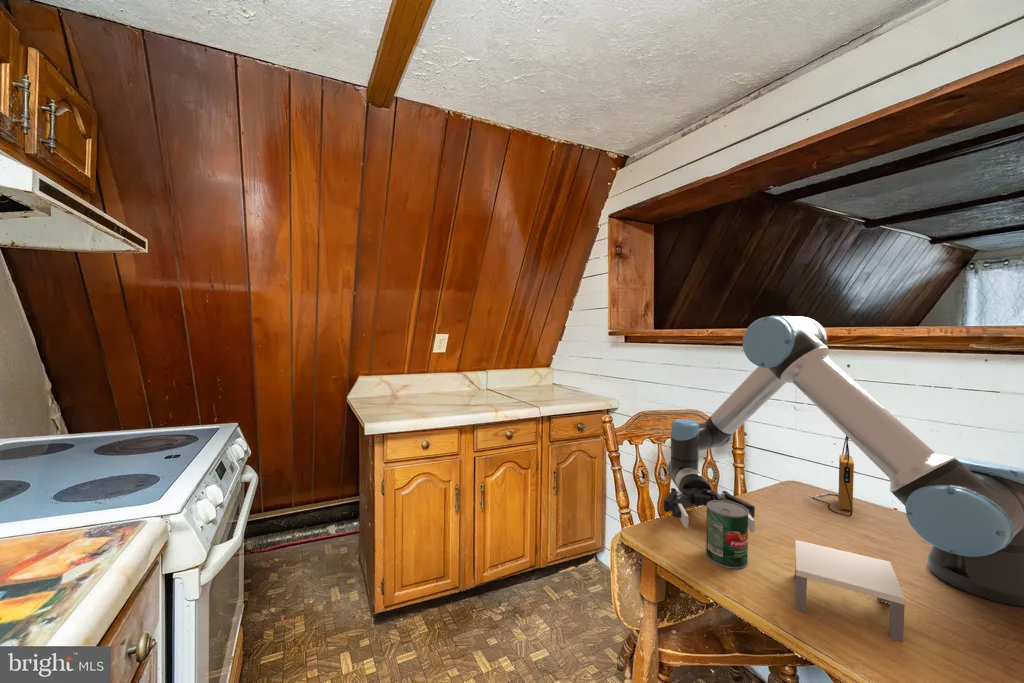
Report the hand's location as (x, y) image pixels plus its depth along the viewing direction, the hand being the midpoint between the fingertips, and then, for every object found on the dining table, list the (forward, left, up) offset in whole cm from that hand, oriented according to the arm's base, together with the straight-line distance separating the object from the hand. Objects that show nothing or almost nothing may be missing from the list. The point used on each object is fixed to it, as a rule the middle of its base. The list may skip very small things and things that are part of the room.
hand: (719, 524), depth 92 cm
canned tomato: (-2, +3, -6) cm, 7 cm away
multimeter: (-22, -43, -6) cm, 49 cm away
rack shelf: (-21, +8, -6) cm, 23 cm away
